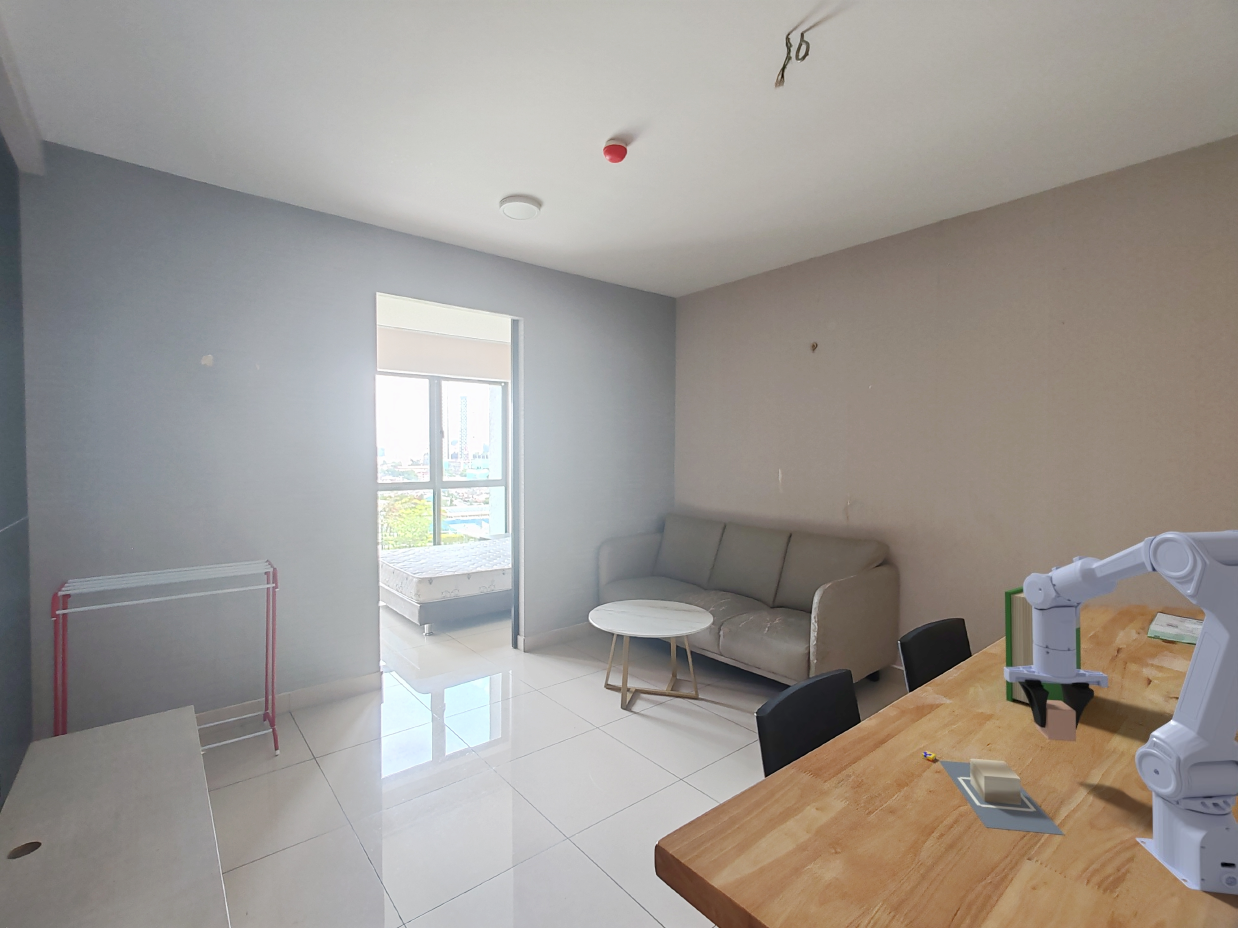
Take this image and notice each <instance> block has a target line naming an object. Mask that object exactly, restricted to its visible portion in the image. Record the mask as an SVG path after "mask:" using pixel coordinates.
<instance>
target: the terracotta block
mask: <svg viewBox="0 0 1238 928" xmlns="http://www.w3.org/2000/svg"><path fill="white" fill-rule="evenodd" d="M1034 728H1035V730H1037V731H1038V732H1039V733H1040V734H1042V736H1044V737H1045V738H1046V739H1047V740H1050V741H1051V740H1052V741H1060V742H1061V741H1064V742H1077V730H1076V711H1075V710H1073V709H1072V708H1071V707H1069V706H1068V705H1066V704H1065V703H1064V702H1062V701H1057V700H1047V704H1046V726H1045V728H1042V727H1040V726H1038V725H1037V724H1036V723H1035V722H1034Z"/></svg>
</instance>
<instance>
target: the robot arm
mask: <svg viewBox="0 0 1238 928" xmlns="http://www.w3.org/2000/svg"><path fill="white" fill-rule="evenodd" d="M1072 561H1073V562H1072V563H1070V564H1067V565H1063V566H1055V567H1052V568H1051V571H1050V572H1049V573H1038V572H1033V573H1031V574H1030V575H1028V576H1027V577H1026V578H1024V581H1023V584H1022V585H1023V586H1022V587H1023V591H1024V595H1025V598H1026V599H1027V601H1028V602H1029V603H1030V604H1031V605H1032V614H1033V665H1031V666H1019V667H1006V666H1003V678H1004V679H1005V681H1006V680H1007V681H1009V682H1014V683H1015V682H1016V681H1018V682H1019V684H1020V686H1021V687H1022V689H1023V691H1024V693H1025V695H1026V697H1027V699H1028V702H1029V703H1028V704H1029V707H1030V709H1031V710H1030V711H1031V712H1032V717H1033V721H1034V724H1035V723H1036V724H1037V725H1038V726H1040V727H1042V728H1045V726H1046V704H1047V698H1048V695H1049V692H1048V691H1047V690H1046V689H1044V686H1043V685H1042V684H1041V682H1042V683H1060V684H1061V688H1062V693H1063V700H1064V703H1065V704H1066V705H1068V706H1069V707H1071V708H1072V709H1073V710H1075V711H1076V731H1077V729H1078V726H1079V724H1080V720H1081V716H1082V714H1083V712H1084V710H1085V708H1086V707H1087V705H1088V704H1089V703H1090V702H1091V700H1093V699H1094V697H1095V690H1094V689H1093V688H1091V687H1090V686H1098V687H1100V688H1109V675H1107V674H1105V673H1103V672H1102V671H1096V670H1087V669H1081V670H1080V669H1076V619H1077V618H1078V616H1079V609H1080V610H1081V607H1082V606H1083V605H1084V603H1085V602H1086V601H1089V600H1092V599H1096V598H1098V597H1100V596H1101V597H1103V596H1105V595H1108V594H1111V593H1113V592H1114V591H1116V589H1117V588H1118V582H1120V581H1123V580H1127V579H1130V578H1134V577H1138V576H1141V575H1145V574H1149V573H1158V574H1160V575H1161V576H1162V578H1163V579H1165V580H1166V581H1167V582H1168V583H1169V584H1171V586H1173V587H1174V588H1175V589H1176V590H1177V591H1178V592H1179V593H1181V595H1183V596H1184V597H1185V598H1186V599H1188V600H1189V601H1190V603H1192V604H1193V605H1194V606H1197V607H1200V609H1201V610H1202V611H1203V613H1204V615H1205V616H1204V619H1203V622H1202V626H1201V628H1200V631H1199V634H1198V638H1197V640H1196V644H1195V646H1194V649H1193V653H1192V656H1191V660H1190V662H1189V665H1188V669H1187V671H1186V675H1185V677H1184V682H1183V685H1182V687H1181V690H1180V693H1179V698H1178V700H1177V703H1176V706H1175V709H1174V713H1173V716H1172V719H1170V721H1168V722H1167V723H1165V724H1163V725H1162V726H1160V727H1158V728H1157V729H1155V730H1154V731H1152V732H1151V733H1150V735H1149V739H1148V741H1147V742H1146V743H1145V744H1144V745H1142V746H1140V747H1138V749H1137V750H1136V752H1135V755H1134V756H1135V758H1134V761H1135V766H1136V770H1137V772H1138V774H1139V777H1140V779H1141V780H1142V781H1143V783H1144V784H1145V785H1146V787H1147V789H1148V790H1149V791H1151V792H1152V838H1145V837H1135V840H1136V841H1137V842H1138V843H1140V845H1141V846H1143V848H1144V849H1146V851H1148V852H1149V853H1150V854H1151V855H1152V856H1153V857H1154V858H1156V859H1157V861H1159V862H1160V863H1161V864H1162V865H1163V866H1164V867H1165V868H1166V869H1167V870H1168V871H1169V872H1170V873H1171V874H1172V875H1174V876H1175V877H1176V878H1177V879H1178V880H1179V881H1180V882H1181V883H1183V884H1184V886H1186V887H1187V888H1189V889H1191V890H1193V891H1201V892H1208V893H1209V892H1210V893H1219V894H1229V895H1237V896H1238V821H1237V820H1236V818H1235V817H1234V814H1233V810H1232V807H1235V806H1237V797H1238V741H1237V740H1235V738H1236V736H1237V734H1238V529H1228V530H1227V529H1225V530H1223V531H1197V532H1196V531H1195V532H1191V531H1190V532H1181V531H1166V532H1163V533H1161V534H1158V535H1156V536H1154V535H1153V536H1149V537H1146V538H1144V540H1143V541H1141V542H1139V543H1137V544H1135V545H1133V546H1131V547H1128V548H1126V549H1124V550H1121V551H1119V552H1118V553H1114V554H1113V555H1111V556H1109V557H1107V558H1104V559H1099V558H1097V557H1093V556H1092V557H1091V556H1089V557H1088V556H1087V555H1081V556H1080V555H1078V556H1076V557H1073V558H1072ZM1184 880H1185V881H1184Z"/></svg>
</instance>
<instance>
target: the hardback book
mask: <svg viewBox="0 0 1238 928" xmlns="http://www.w3.org/2000/svg"><path fill="white" fill-rule="evenodd" d="M1004 614H1005V615H1004V621H1005V627H1004V628H1005V631H1004V632H1005V633H1004V634H1005V667H1019V666H1031V665H1033V614H1032V605H1031V604H1030V603H1029V602H1028V601H1027V599H1026V598H1025V595H1024V591H1023V586H1020V587H1015V588H1012V589H1009V590H1006V591H1004ZM1081 640H1082V639H1081V608H1080V609H1079V616H1078V618H1077V619H1076V669H1080V670H1082V654H1081V649H1082V648H1081V647H1082V646H1081V644H1082V643H1081ZM1005 683H1006V685H1005V689H1006V690H1005V693H1006V699H1005V700H1006V701H1007V702H1010V703H1012V702H1013V701H1015V700H1018V701H1021V702H1024V703H1027V704H1029V702H1028V699H1027V697H1026V695H1025V693H1024V691H1023V689H1022V687H1021V686H1020V684H1019V682H1018V681H1016V682H1015V683H1014V682H1009V681H1007V680H1006V679H1005ZM1041 684H1042V685H1043V686H1044V689H1046V690H1047V691H1048V692H1049V695H1048V698H1047V700H1057V701H1062V702H1064V700H1063V693H1062V688H1061V684H1060V683H1042V682H1041Z"/></svg>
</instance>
